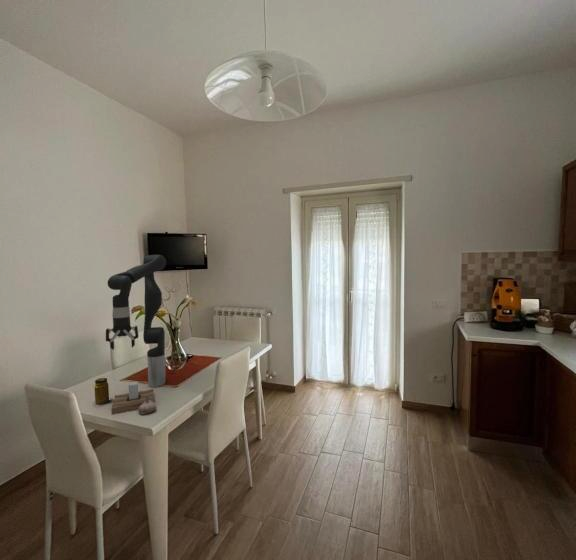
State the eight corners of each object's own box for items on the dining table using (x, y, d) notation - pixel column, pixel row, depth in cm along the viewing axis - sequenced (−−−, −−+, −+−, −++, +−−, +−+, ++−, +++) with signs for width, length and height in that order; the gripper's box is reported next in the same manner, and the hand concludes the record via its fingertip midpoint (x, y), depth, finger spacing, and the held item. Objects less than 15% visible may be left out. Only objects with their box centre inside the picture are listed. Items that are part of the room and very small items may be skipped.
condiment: (93, 402, 157) (92, 379, 157) (112, 397, 163) (111, 375, 162) (95, 407, 152) (94, 383, 151) (115, 402, 157) (114, 379, 156)
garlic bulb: (159, 409, 149) (158, 393, 148) (148, 416, 142) (148, 399, 141) (145, 407, 151) (145, 391, 150) (134, 414, 144) (134, 398, 143)
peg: (129, 402, 156) (128, 382, 155) (138, 400, 157) (138, 381, 157) (129, 405, 152) (128, 385, 151) (138, 403, 153) (137, 384, 153)
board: (115, 401, 158) (115, 395, 158) (153, 394, 165) (153, 389, 165) (111, 414, 144) (111, 408, 144) (153, 406, 151) (153, 400, 151)
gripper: (137, 313, 159) (139, 344, 160) (105, 315, 154) (107, 348, 155) (137, 315, 152) (138, 348, 153) (103, 318, 147) (105, 352, 148)
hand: (122, 348), depth 154 cm, fingers open, 8 cm apart
